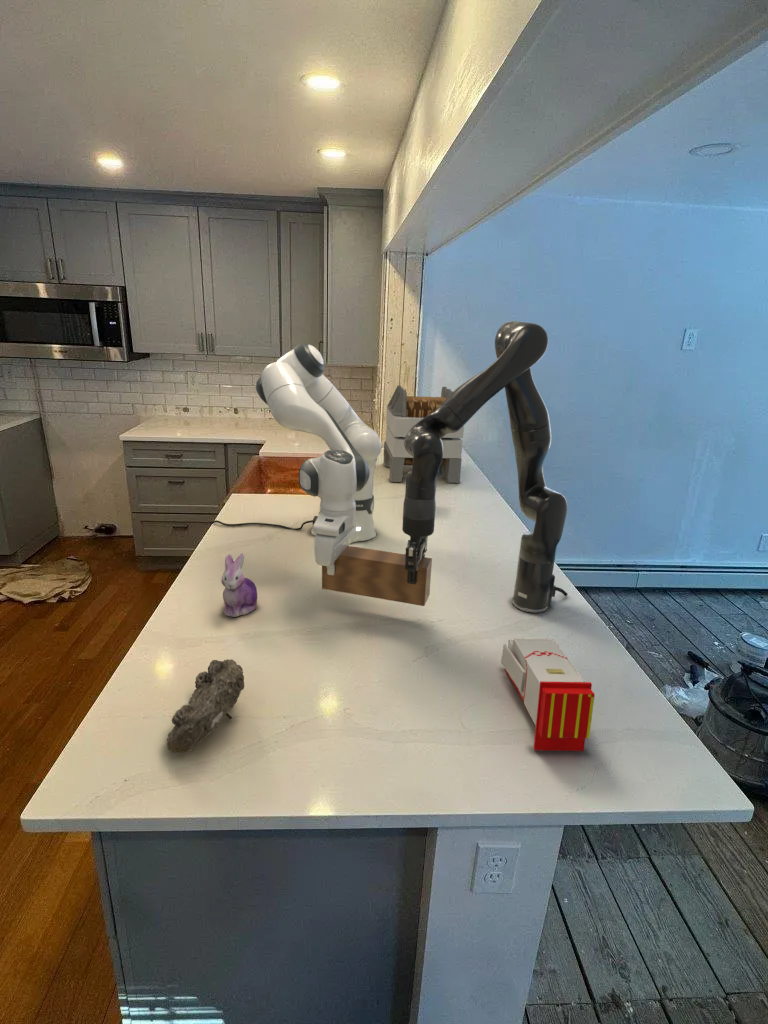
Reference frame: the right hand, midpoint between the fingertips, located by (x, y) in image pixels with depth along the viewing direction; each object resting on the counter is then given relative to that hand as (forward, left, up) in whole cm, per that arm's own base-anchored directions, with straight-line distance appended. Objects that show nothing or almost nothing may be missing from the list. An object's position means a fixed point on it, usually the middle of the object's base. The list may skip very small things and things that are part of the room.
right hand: (415, 576), depth 139 cm
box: (+8, -6, -6) cm, 12 cm away
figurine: (+40, -19, -13) cm, 46 cm away
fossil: (+50, +21, -13) cm, 56 cm away
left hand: (+17, -12, -1) cm, 20 cm away
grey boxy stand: (-57, -128, -13) cm, 141 cm away
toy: (-13, +36, -13) cm, 40 cm away
